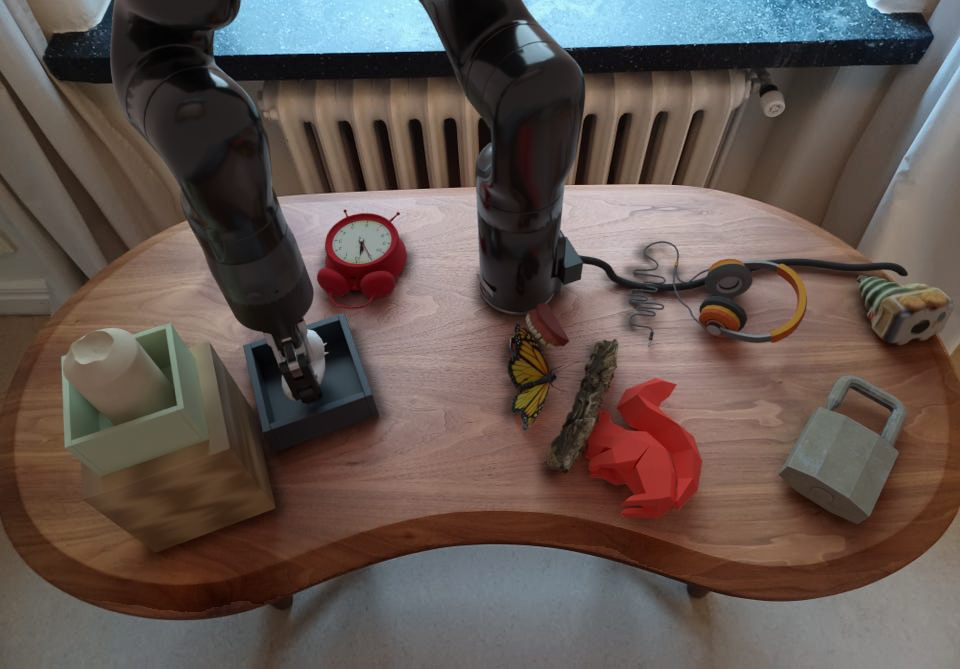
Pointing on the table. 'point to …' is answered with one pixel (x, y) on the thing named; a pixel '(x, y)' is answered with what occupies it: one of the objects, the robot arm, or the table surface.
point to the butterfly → (529, 377)
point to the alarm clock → (362, 257)
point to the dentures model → (543, 329)
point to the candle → (117, 376)
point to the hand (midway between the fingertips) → (304, 368)
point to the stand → (192, 472)
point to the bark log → (584, 408)
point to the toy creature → (317, 362)
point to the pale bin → (148, 434)
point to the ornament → (904, 309)
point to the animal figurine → (646, 452)
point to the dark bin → (340, 387)
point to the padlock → (845, 454)
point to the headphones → (723, 312)
